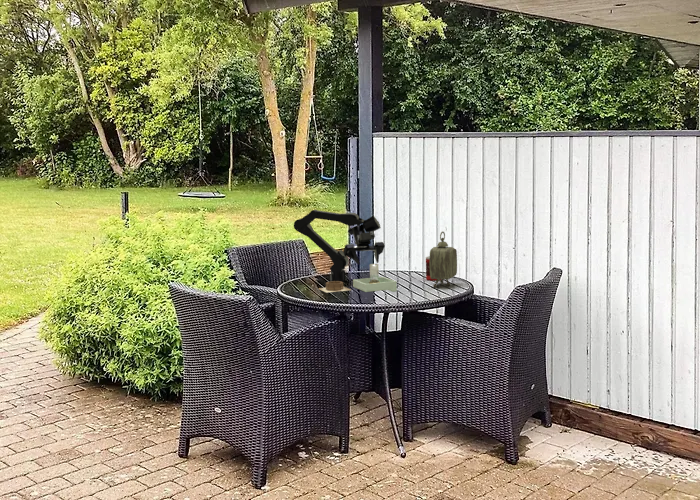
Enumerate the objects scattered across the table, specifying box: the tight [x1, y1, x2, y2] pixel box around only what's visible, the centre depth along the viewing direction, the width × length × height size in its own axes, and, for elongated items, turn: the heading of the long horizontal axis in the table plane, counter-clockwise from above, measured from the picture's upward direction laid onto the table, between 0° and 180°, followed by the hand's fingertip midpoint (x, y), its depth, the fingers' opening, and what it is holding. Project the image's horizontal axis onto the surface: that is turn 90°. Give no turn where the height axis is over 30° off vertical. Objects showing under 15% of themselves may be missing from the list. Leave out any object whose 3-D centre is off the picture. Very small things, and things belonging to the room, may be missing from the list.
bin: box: [352, 276, 398, 293], centre depth 350 cm, size 15×15×4 cm
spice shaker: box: [369, 263, 380, 284], centre depth 350 cm, size 5×5×11 cm
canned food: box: [425, 255, 441, 282], centre depth 373 cm, size 8×8×11 cm
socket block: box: [318, 281, 352, 294], centre depth 350 cm, size 12×12×4 cm
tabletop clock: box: [429, 231, 458, 288], centre depth 354 cm, size 14×9×25 cm, turn 157°
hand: (368, 263), depth 356 cm, fingers open, 9 cm apart
